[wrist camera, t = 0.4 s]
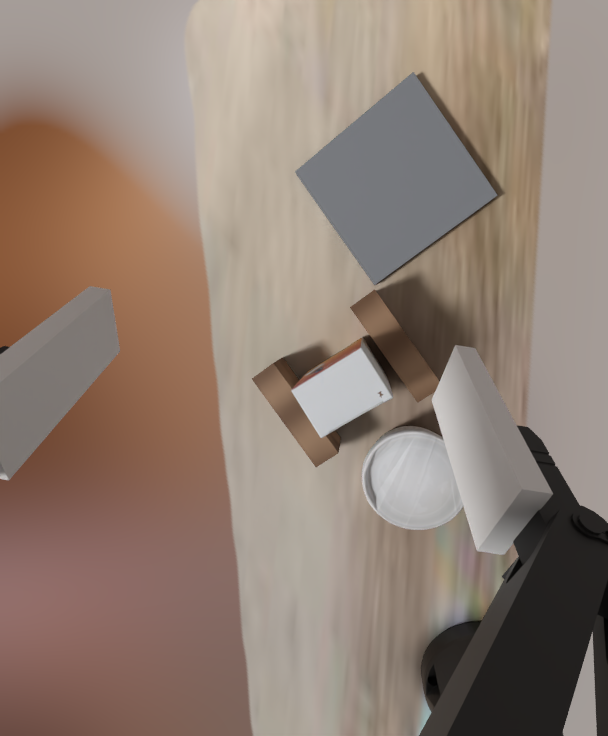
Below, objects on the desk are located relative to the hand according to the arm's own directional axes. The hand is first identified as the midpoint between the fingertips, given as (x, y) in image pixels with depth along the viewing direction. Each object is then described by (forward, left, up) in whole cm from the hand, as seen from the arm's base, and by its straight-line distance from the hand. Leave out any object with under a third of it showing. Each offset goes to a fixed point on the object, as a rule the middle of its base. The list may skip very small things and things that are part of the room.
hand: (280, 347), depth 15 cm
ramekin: (-19, +3, -31) cm, 36 cm away
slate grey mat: (+8, -13, -31) cm, 35 cm away
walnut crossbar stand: (-6, +3, -31) cm, 31 cm away
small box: (-6, +3, -31) cm, 32 cm away
